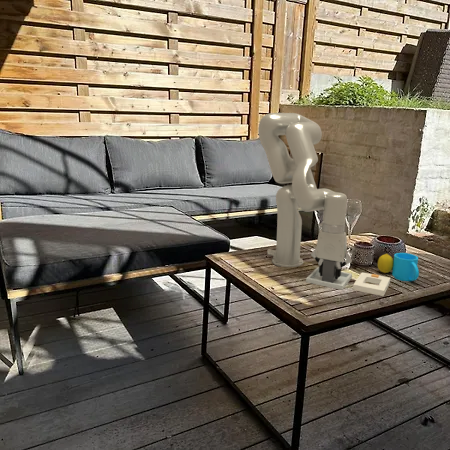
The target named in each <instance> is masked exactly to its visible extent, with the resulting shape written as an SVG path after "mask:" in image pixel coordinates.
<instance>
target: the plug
mask: <svg viewBox="0 0 450 450" xmlns="http://www.w3.org/2000/svg"><path fill="white" fill-rule="evenodd" d="M336 268H337V263H336V261H330V260H325V259H324V260H323V271H322V281H325V282H330V283H333V282H334V281H335V280H336V279H335V272H336Z"/></svg>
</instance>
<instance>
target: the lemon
mask: <svg viewBox="0 0 450 450" xmlns="http://www.w3.org/2000/svg"><path fill="white" fill-rule="evenodd" d="M393 262H394V258H393V257H392V256H391V255H390V254H388V253H385V254H382V255H380V256H379V258H378V259H377V268H378V271H380V272H381V273H383V274H386V273H387V274H388V273H389V272H391V271H392V270H393Z"/></svg>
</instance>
